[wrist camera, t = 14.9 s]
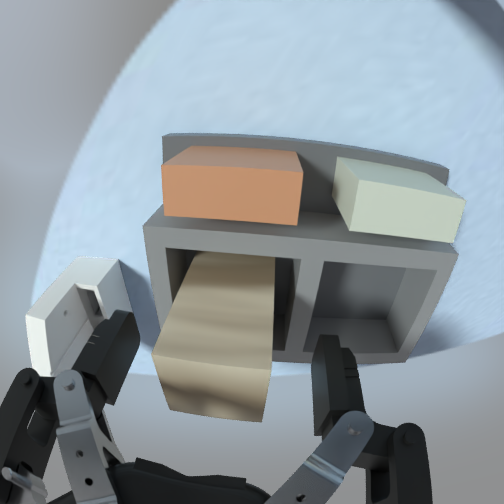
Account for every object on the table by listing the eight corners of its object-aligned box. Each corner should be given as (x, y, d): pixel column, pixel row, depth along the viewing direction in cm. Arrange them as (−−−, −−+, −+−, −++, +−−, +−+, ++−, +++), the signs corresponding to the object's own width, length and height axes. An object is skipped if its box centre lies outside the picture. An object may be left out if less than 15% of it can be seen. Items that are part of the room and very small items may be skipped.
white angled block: (103, 369, 21) (42, 411, 13) (98, 255, 21) (23, 256, 13) (139, 378, 21) (84, 429, 12) (136, 257, 21) (65, 261, 12)
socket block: (169, 133, 14) (124, 152, 10) (440, 164, 13) (492, 195, 9) (181, 305, 20) (160, 360, 15) (390, 320, 19) (409, 374, 15)
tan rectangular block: (201, 240, 16) (151, 354, 9) (275, 247, 16) (271, 370, 9) (204, 298, 18) (169, 409, 11) (269, 304, 18) (261, 422, 11)
